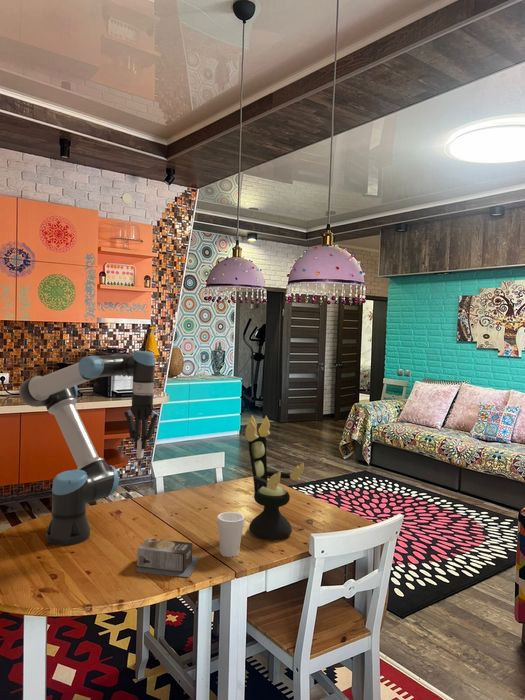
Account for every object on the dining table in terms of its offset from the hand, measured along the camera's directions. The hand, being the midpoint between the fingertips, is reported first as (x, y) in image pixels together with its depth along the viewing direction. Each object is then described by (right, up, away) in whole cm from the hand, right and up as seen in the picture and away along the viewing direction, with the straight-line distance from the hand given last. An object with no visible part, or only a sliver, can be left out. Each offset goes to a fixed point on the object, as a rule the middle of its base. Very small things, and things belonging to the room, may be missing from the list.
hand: (140, 457), depth 190 cm
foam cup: (+33, -32, -8) cm, 47 cm away
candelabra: (+46, -32, +13) cm, 57 cm away
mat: (+14, -32, -18) cm, 39 cm away
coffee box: (+5, -28, -18) cm, 33 cm away
